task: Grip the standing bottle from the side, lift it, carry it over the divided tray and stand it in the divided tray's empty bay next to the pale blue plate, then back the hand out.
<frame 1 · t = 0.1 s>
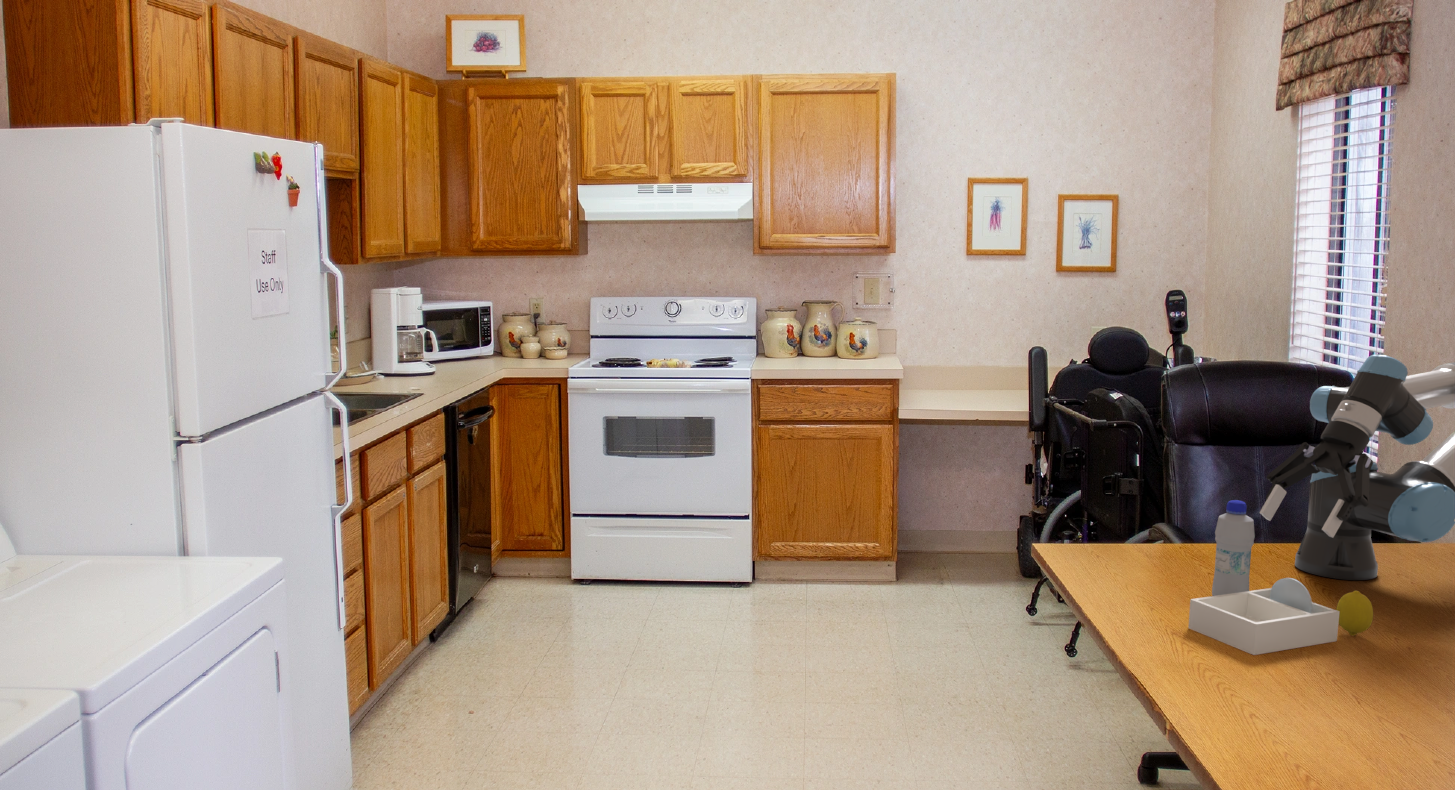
hand: (1295, 525, 207), 15 cm above the table, tool tilted 35°, fingers open, 13 cm apart
lemon: (1352, 636, 192), on the table
bottle: (1229, 606, 208), on the table
divided tray: (1261, 634, 192), on the table
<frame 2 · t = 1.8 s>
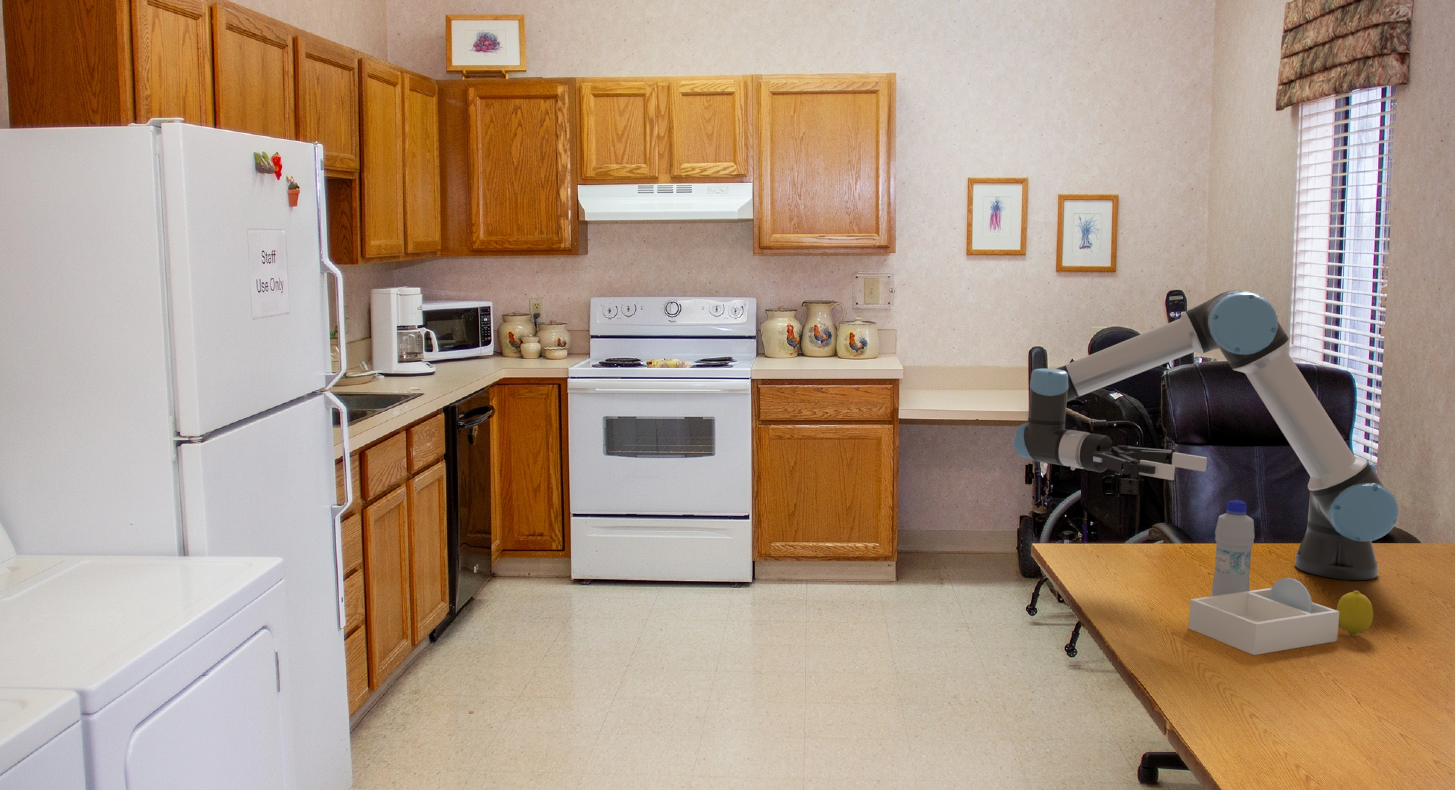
hand: (1190, 468, 211), 25 cm above the table, tool horizontal, fingers open, 13 cm apart
nothing on the table moved.
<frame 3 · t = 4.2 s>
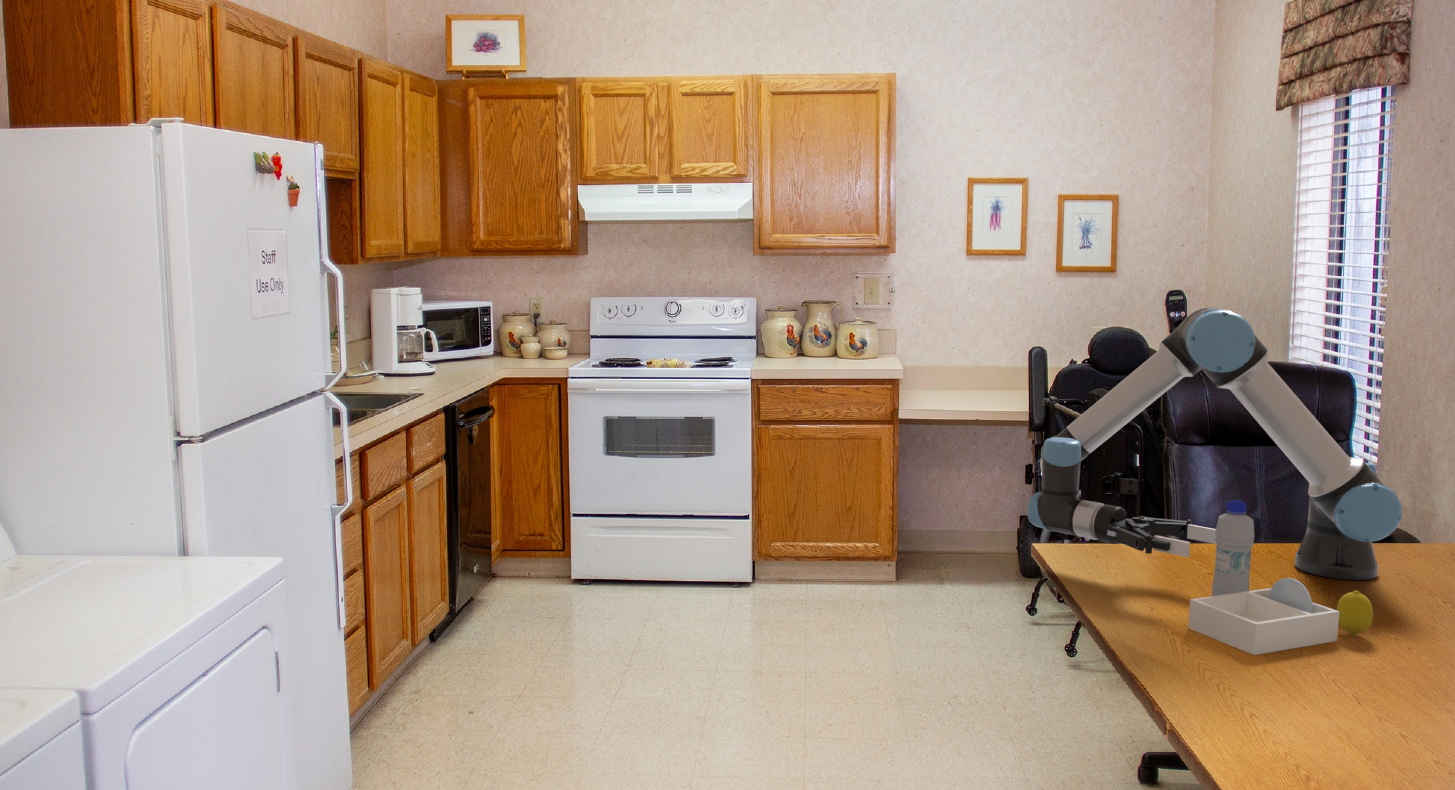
hand: (1205, 543, 210), 11 cm above the table, tool horizontal, fingers open, 13 cm apart
nothing on the table moved.
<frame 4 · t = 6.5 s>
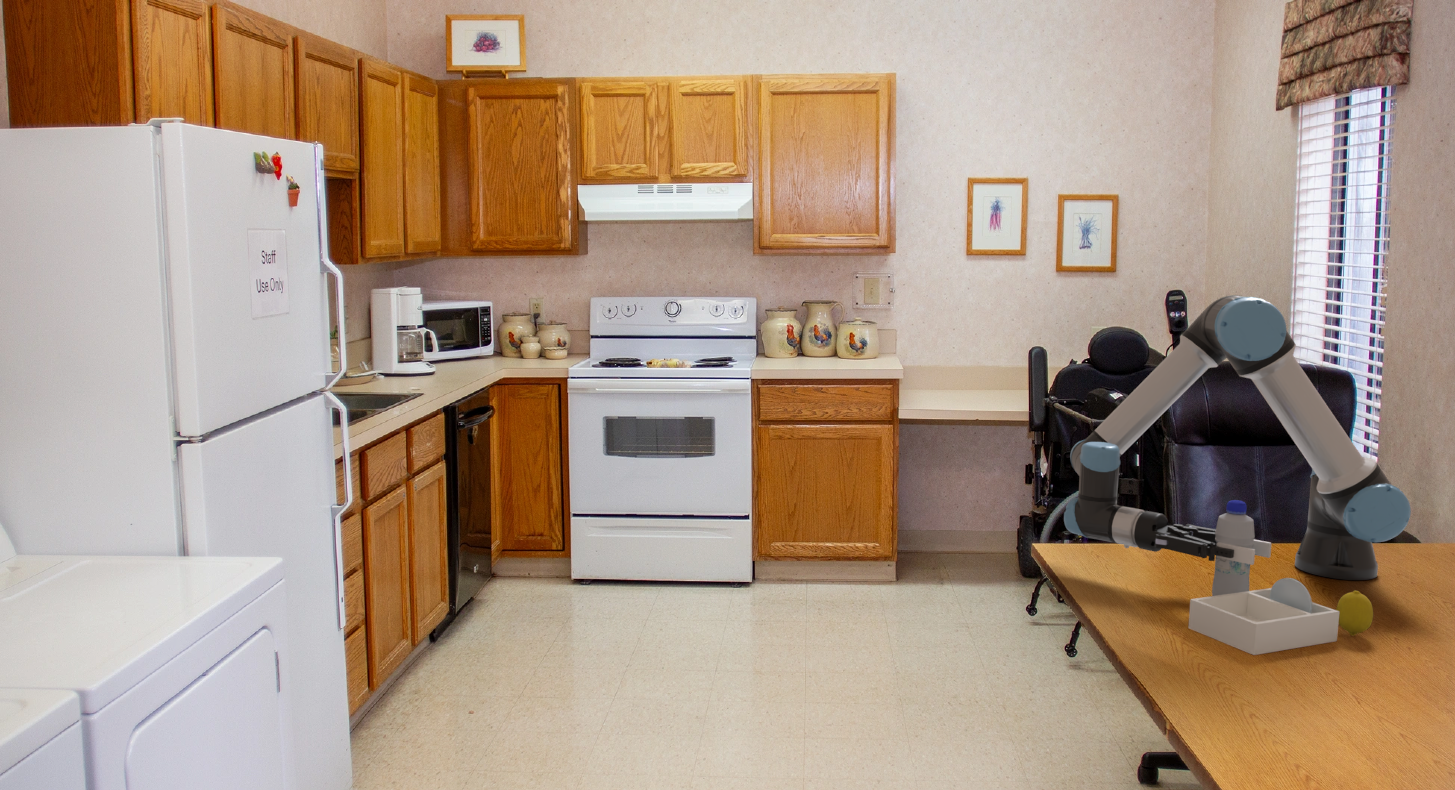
hand: (1261, 553, 203), 11 cm above the table, tool horizontal, fingers closed on bottle, 6 cm apart
bottle: (1229, 606, 208), on the table, touching gripper
everything else where it was.
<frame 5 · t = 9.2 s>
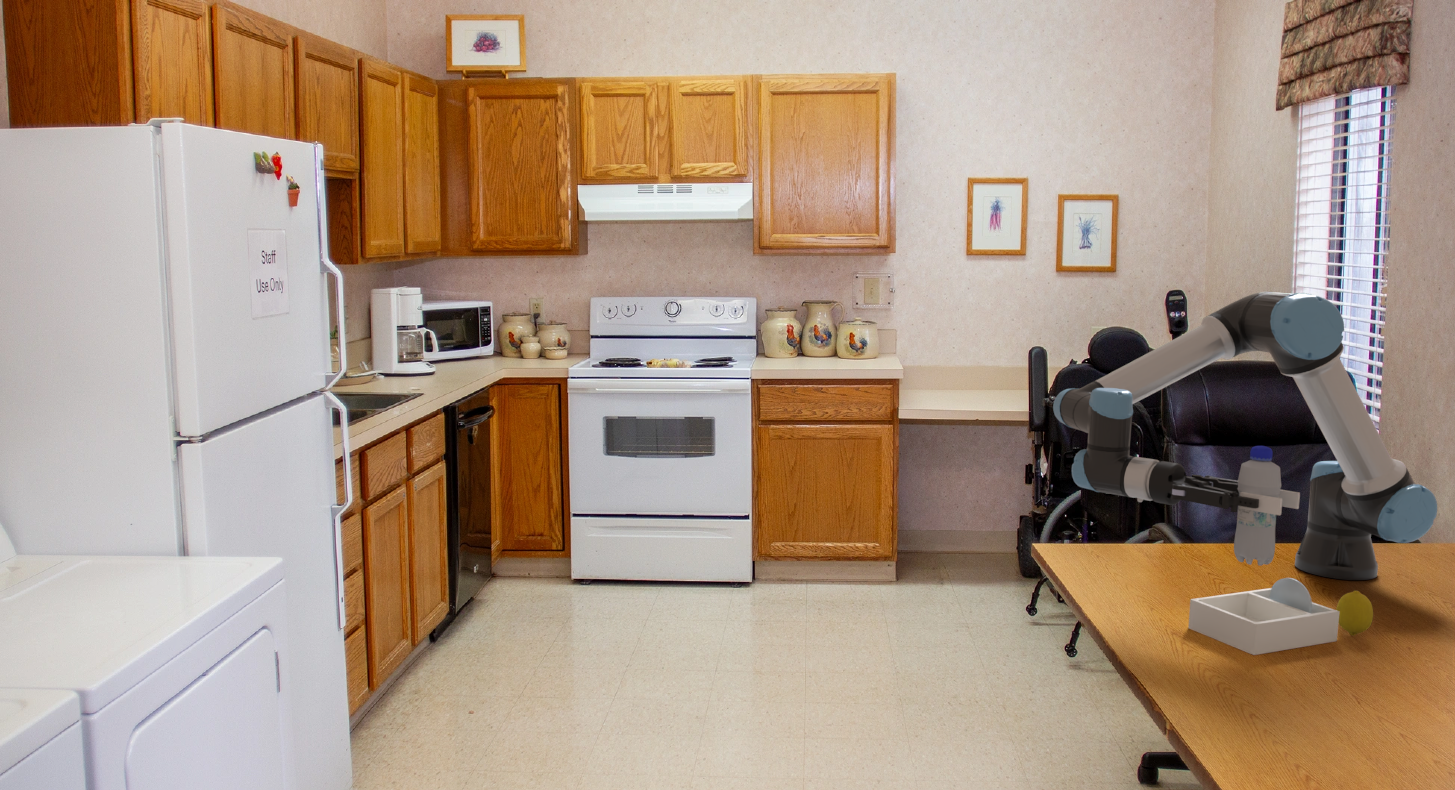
hand: (1289, 503, 185), 24 cm above the table, tool horizontal, fingers closed on bottle, 6 cm apart
bottle: (1252, 563, 190), point 13 cm above the table, touching gripper
everything else where it was.
when the fingers open (14 cm above the table, at t = 11.9 s): bottle drops 2 cm, resting on divided tray.
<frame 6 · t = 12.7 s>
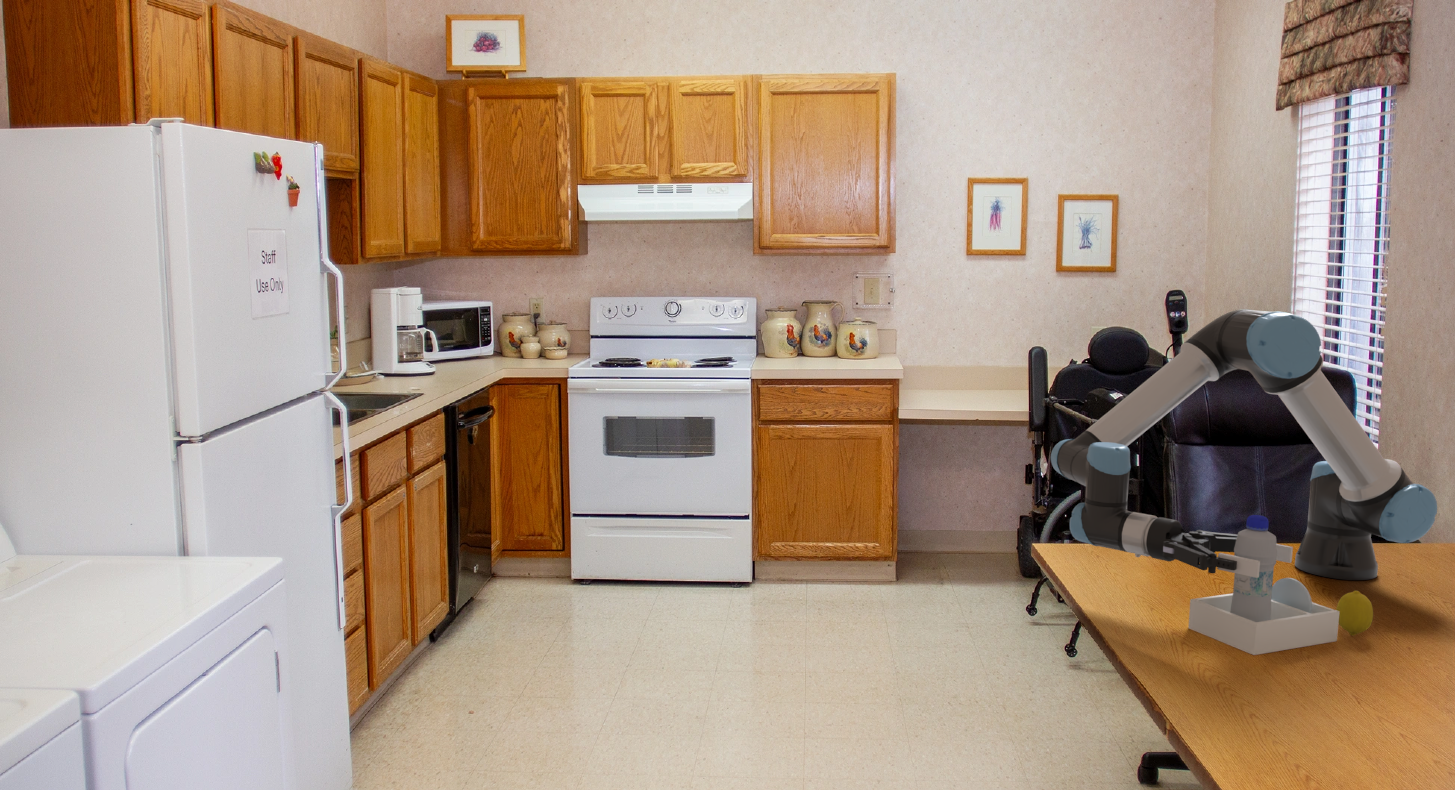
hand: (1275, 562, 187), 14 cm above the table, tool horizontal, fingers open, 13 cm apart
bottle: (1249, 630, 191), point 1 cm above the table, touching divided tray
everything else where it was.
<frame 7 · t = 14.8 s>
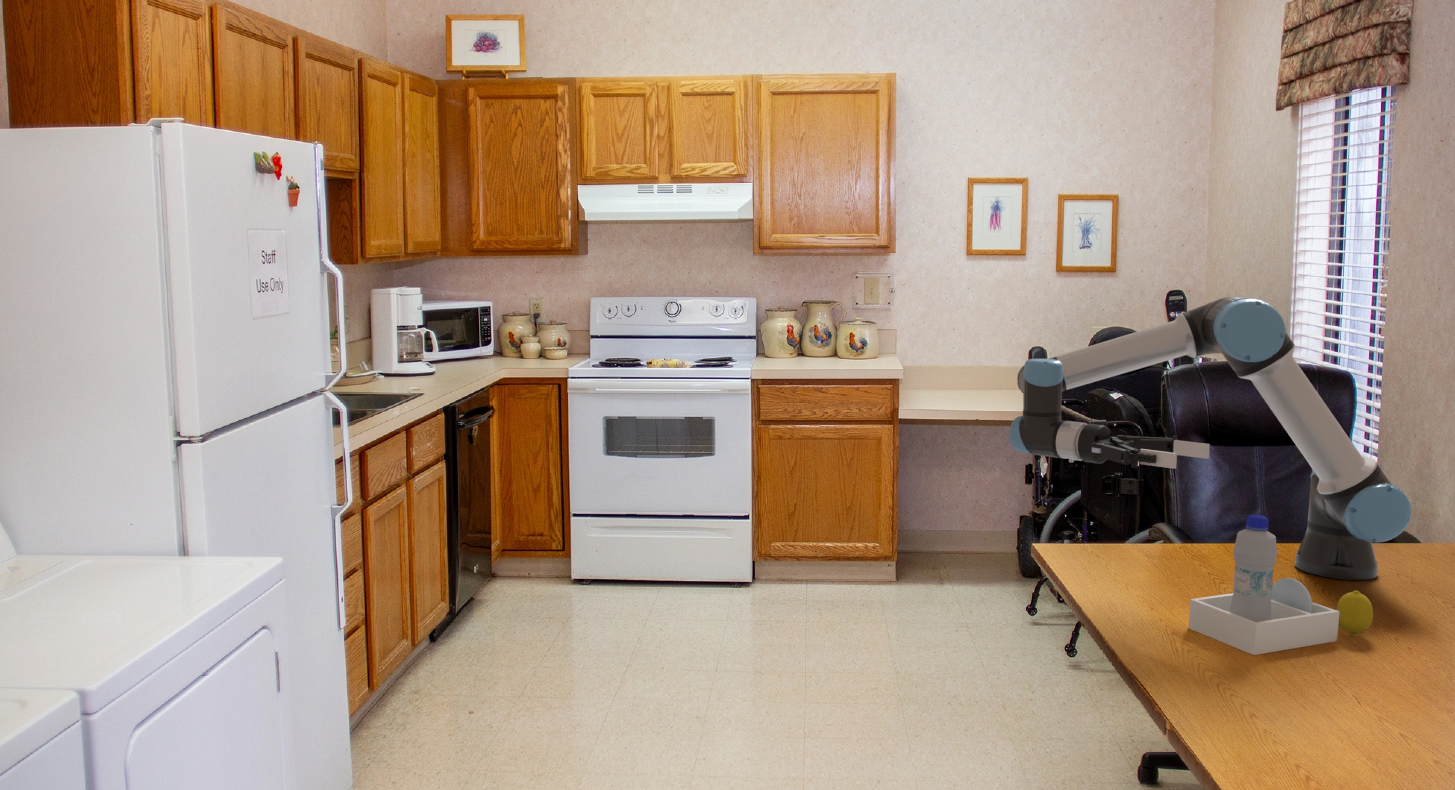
hand: (1192, 456, 204), 28 cm above the table, tool horizontal, fingers open, 13 cm apart
nothing on the table moved.
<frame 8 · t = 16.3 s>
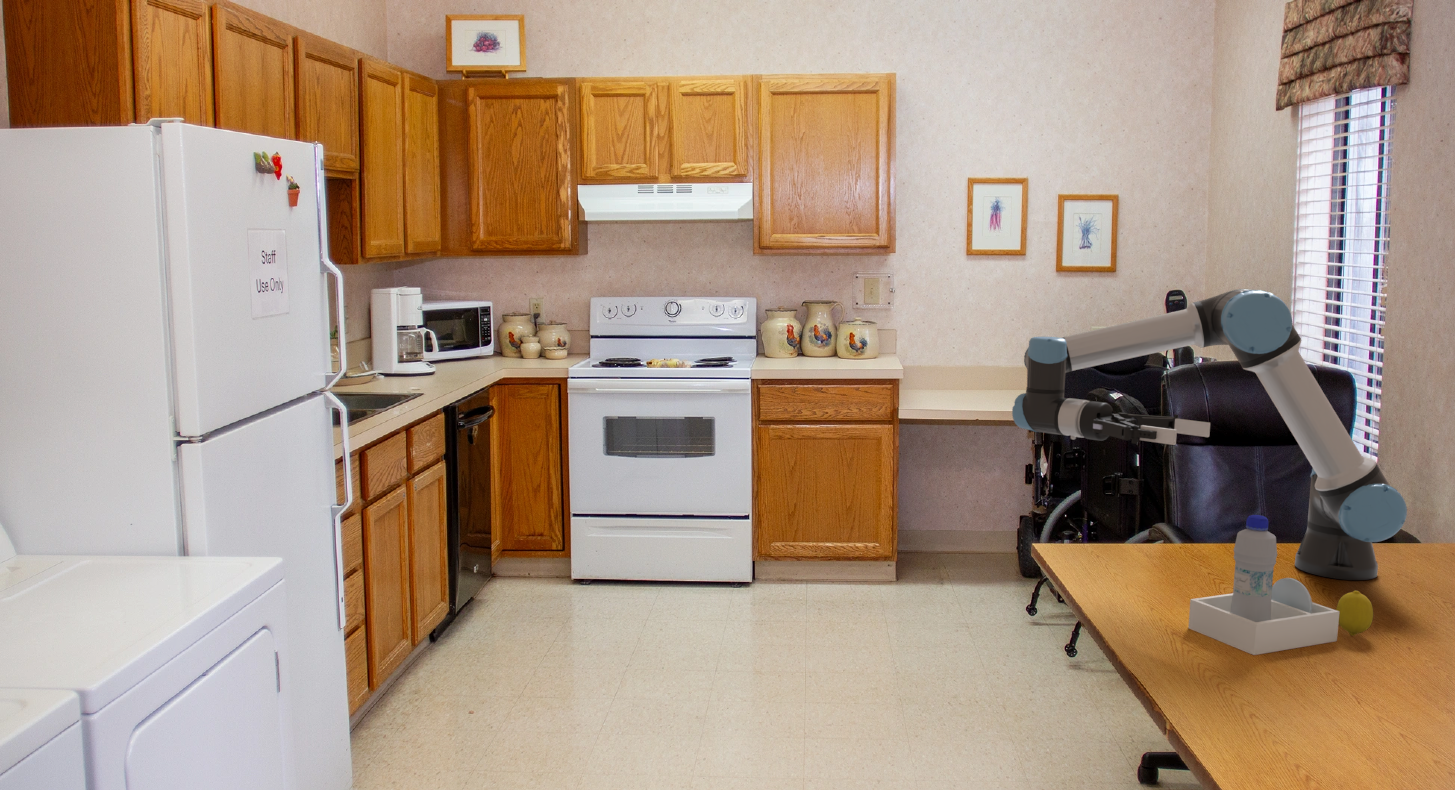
hand: (1192, 433, 206), 32 cm above the table, tool horizontal, fingers open, 13 cm apart
nothing on the table moved.
at the end: bottle inside the target area on the divided tray (0.1 cm from its centre), point 1.0 cm above the divided tray's base; bottle tilted 0°; the gripper is holding nothing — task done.
